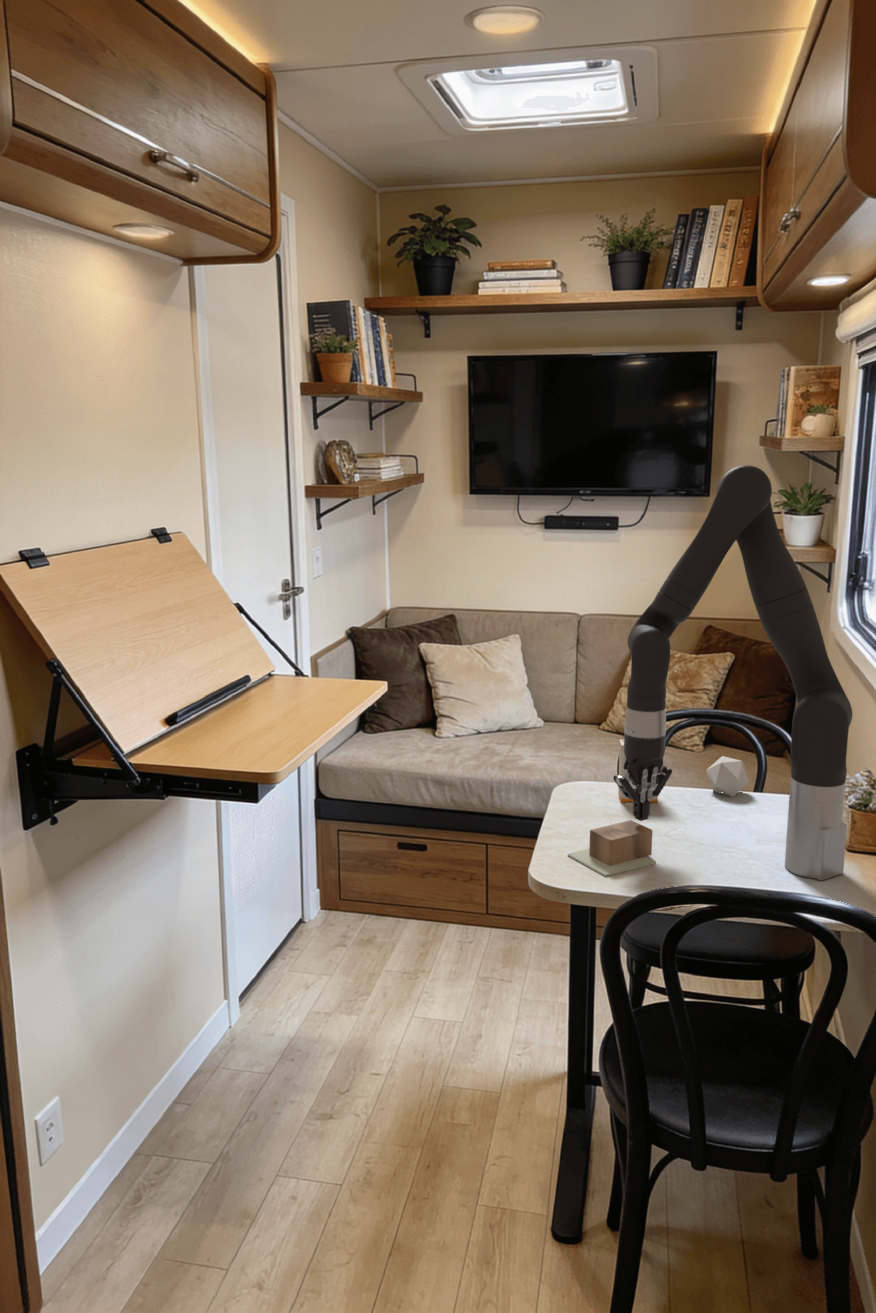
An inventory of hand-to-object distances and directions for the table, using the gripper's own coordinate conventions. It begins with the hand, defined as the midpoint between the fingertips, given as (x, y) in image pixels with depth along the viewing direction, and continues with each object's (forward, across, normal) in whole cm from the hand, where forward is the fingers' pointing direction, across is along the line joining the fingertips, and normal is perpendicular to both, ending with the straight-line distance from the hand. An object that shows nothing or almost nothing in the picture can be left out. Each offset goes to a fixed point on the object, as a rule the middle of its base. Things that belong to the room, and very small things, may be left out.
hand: (641, 818), depth 189 cm
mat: (+7, -7, 0) cm, 10 cm away
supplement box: (+7, +19, +23) cm, 31 cm away
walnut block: (+4, 0, 0) cm, 4 cm away
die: (+7, +39, +16) cm, 43 cm away
